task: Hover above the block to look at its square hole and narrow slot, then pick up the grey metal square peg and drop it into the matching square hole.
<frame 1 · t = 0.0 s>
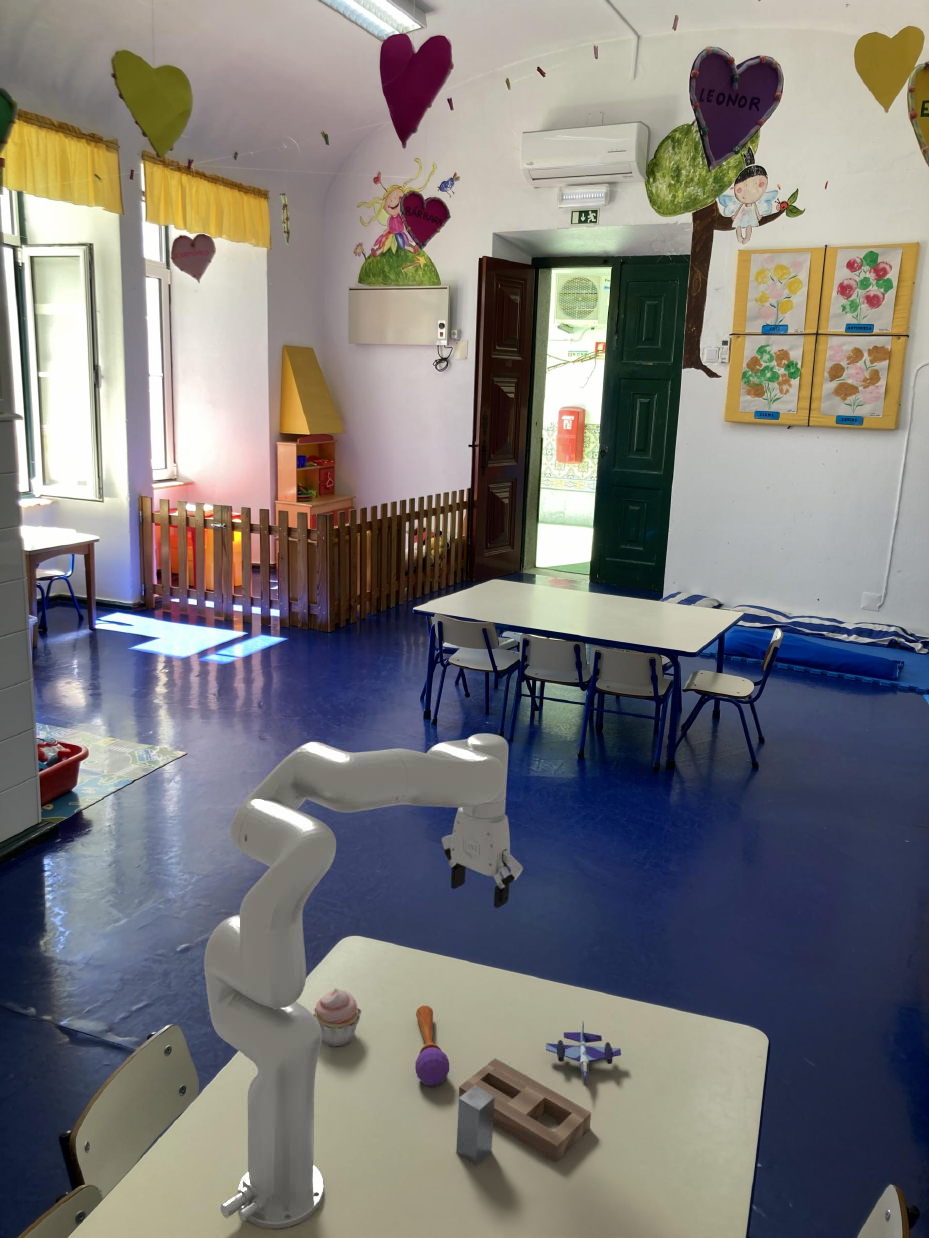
hand: (478, 895, 172), 31 cm above the table, tool pointing down, fingers open, 9 cm apart
toy airplane: (582, 1069, 175), on the table
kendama: (428, 1055, 177), on the table
cupcake: (336, 1037, 181), on the table
socket block: (523, 1114, 163), on the table
square peg: (473, 1151, 154), on the table
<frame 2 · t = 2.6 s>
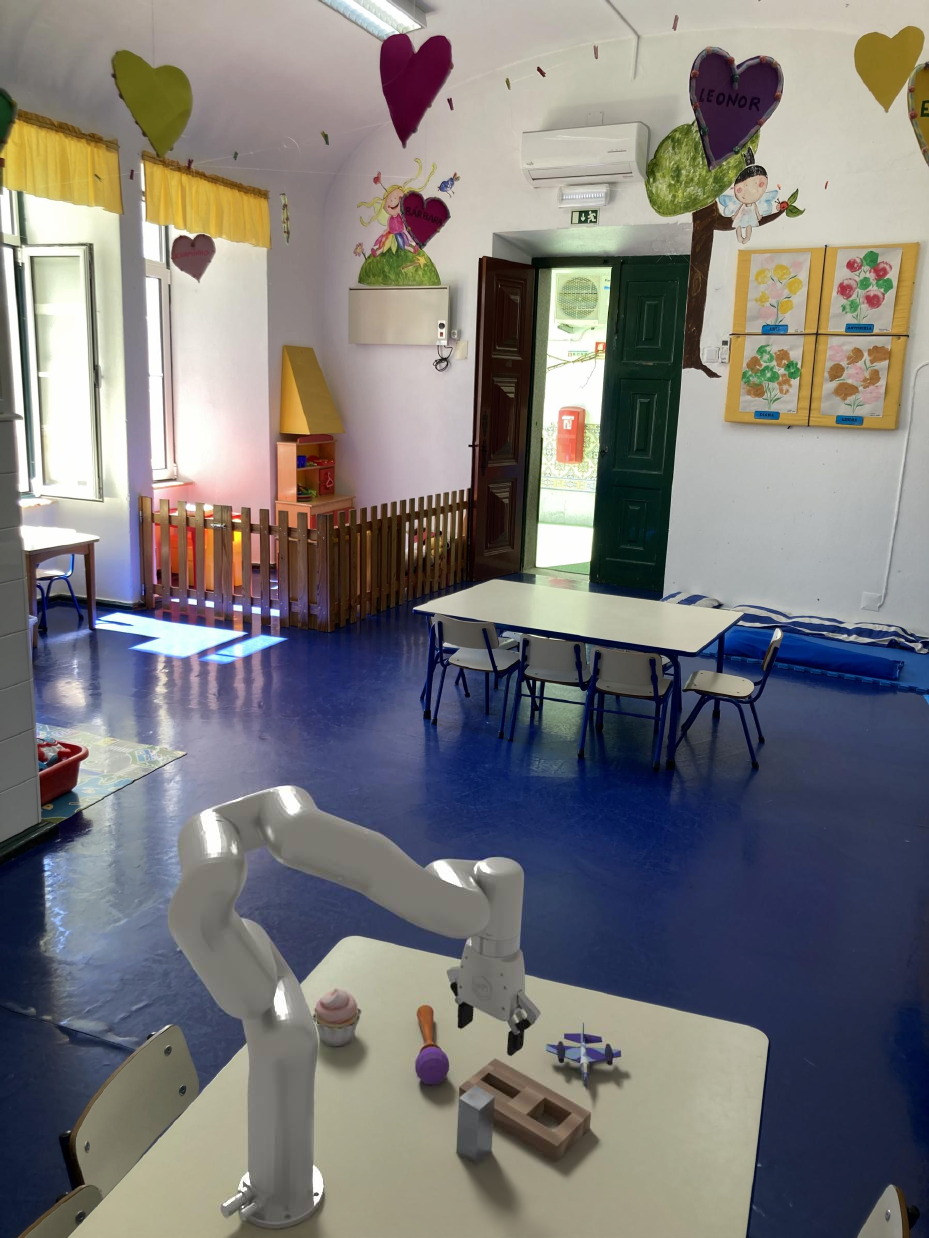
hand: (489, 1037, 151), 20 cm above the table, tool pointing down, fingers open, 9 cm apart
nothing on the table moved.
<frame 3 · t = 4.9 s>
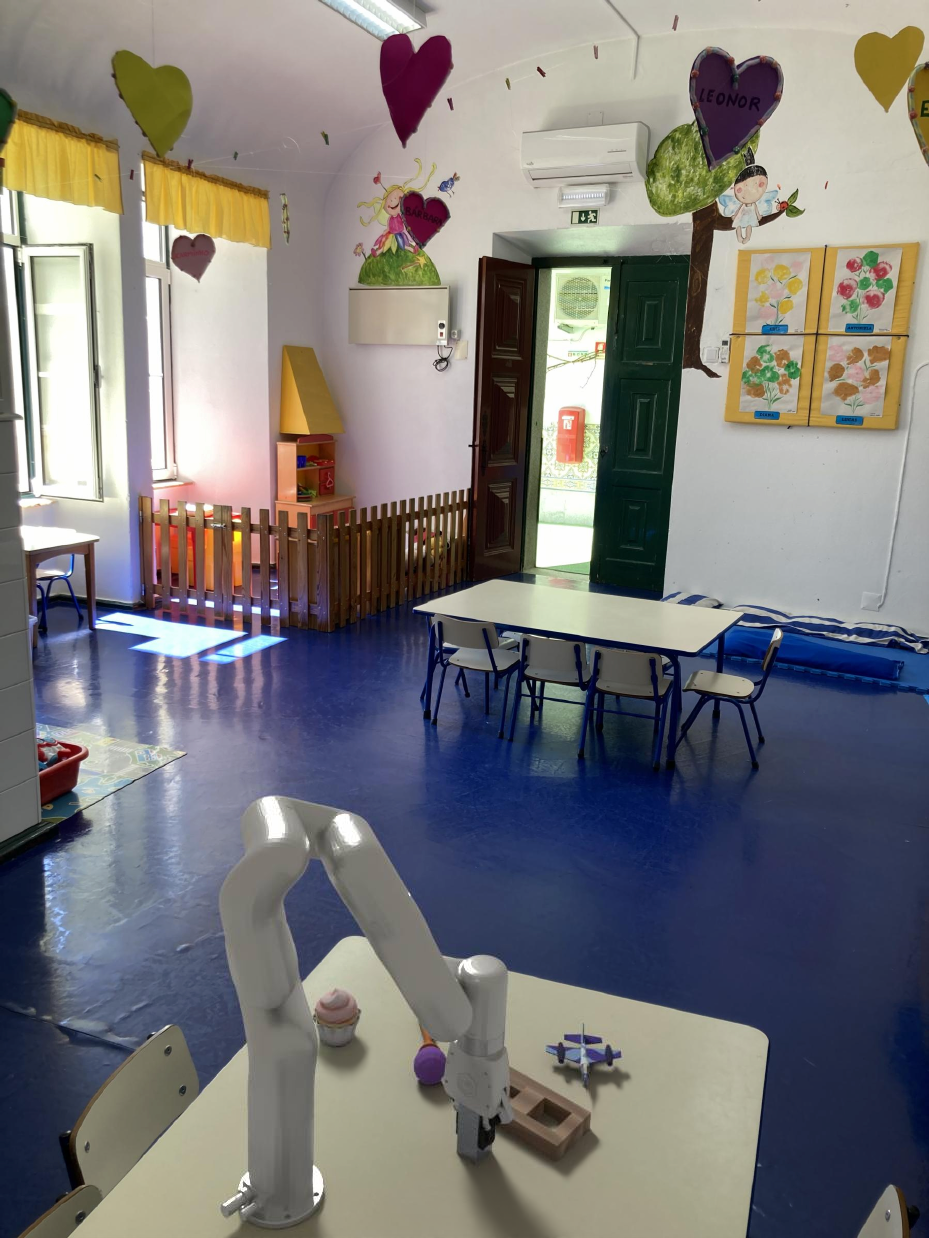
hand: (475, 1136, 154), 3 cm above the table, tool pointing down, fingers closed on square peg, 4 cm apart
square peg: (474, 1151, 154), on the table, touching gripper
everything else where it was.
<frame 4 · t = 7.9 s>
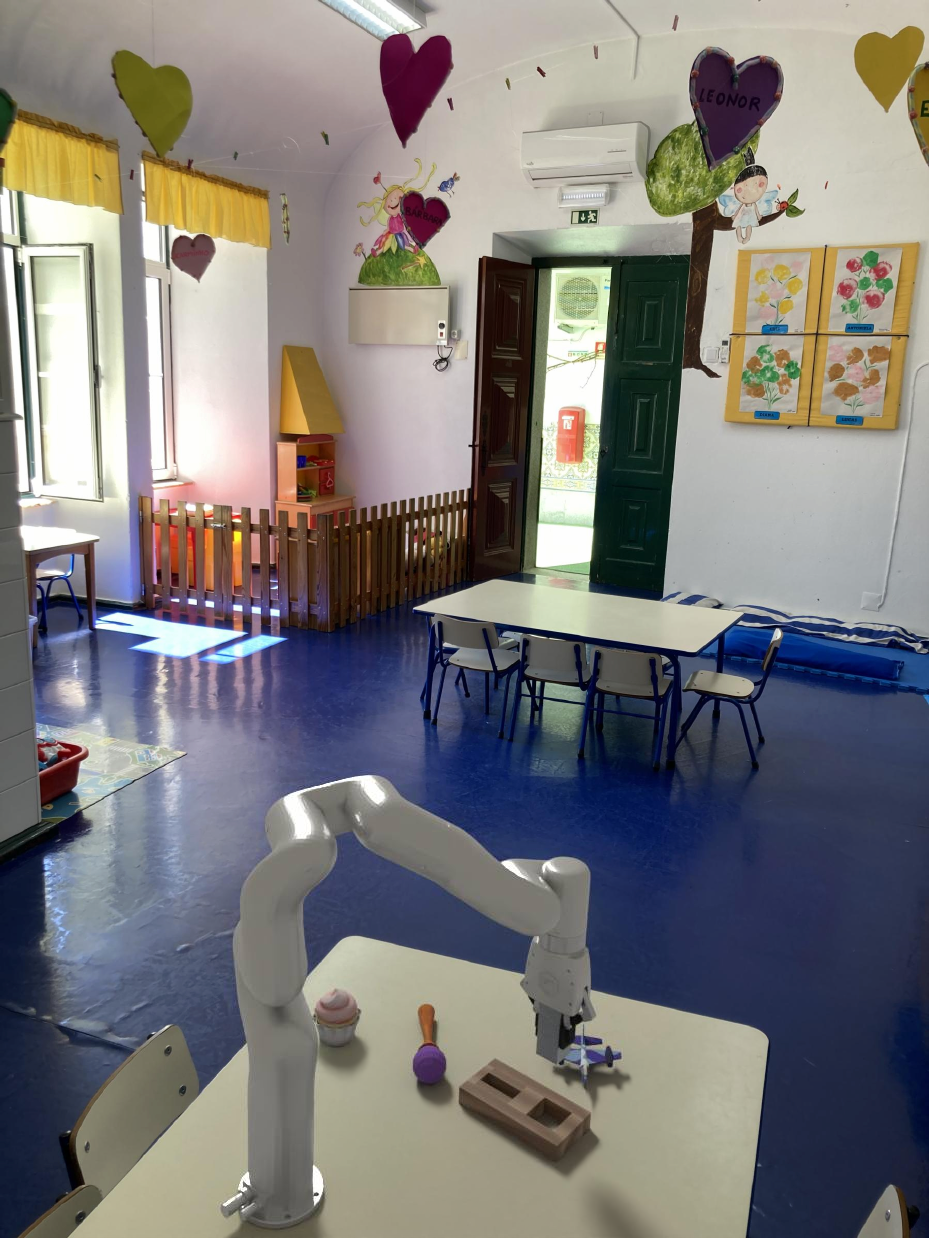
hand: (554, 1037, 156), 17 cm above the table, tool pointing down, fingers closed on square peg, 4 cm apart
square peg: (553, 1052, 157), point 14 cm above the table, touching gripper
everything else where it was.
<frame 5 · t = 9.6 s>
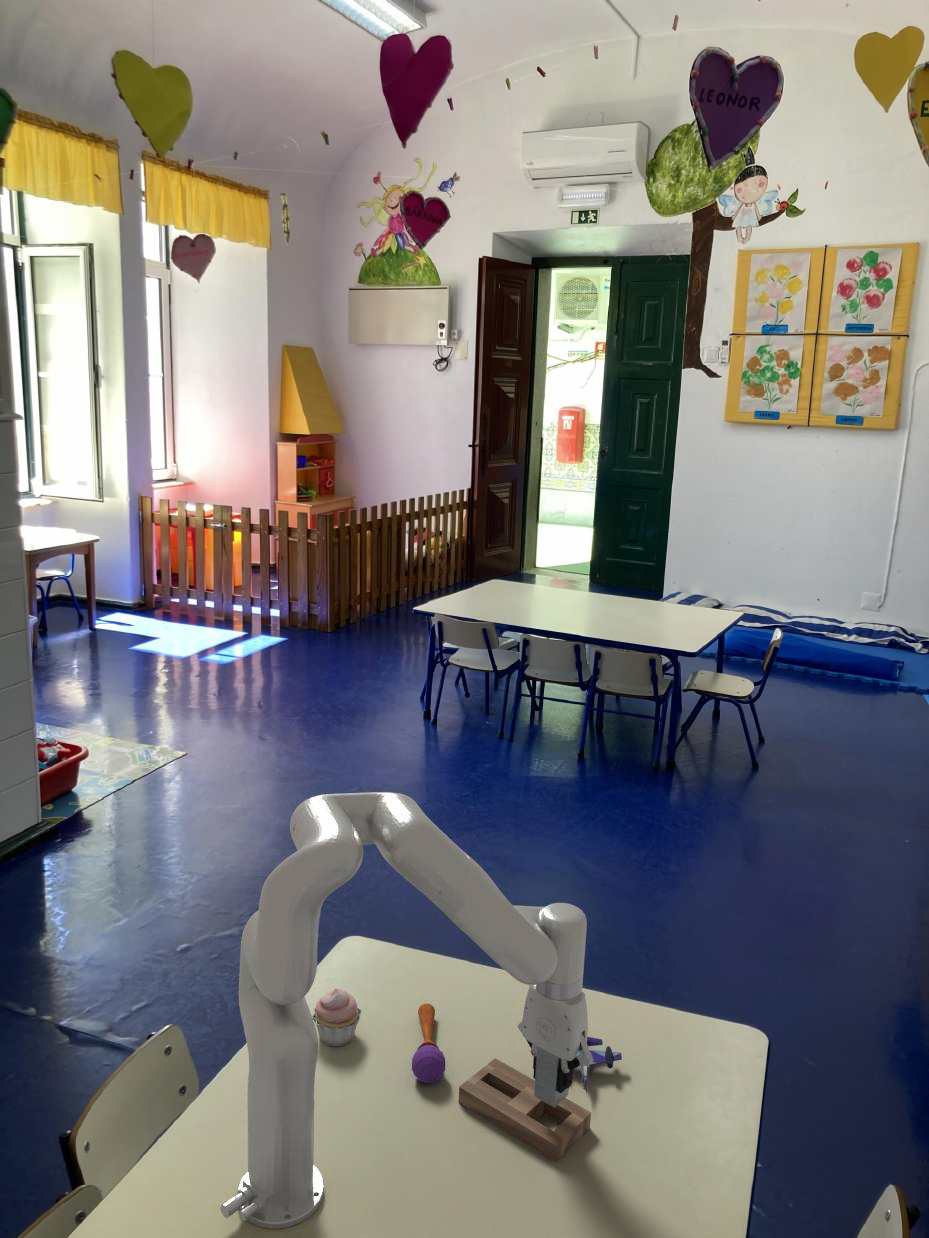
hand: (552, 1080, 158), 9 cm above the table, tool pointing down, fingers closed on square peg, 4 cm apart
square peg: (551, 1095, 158), point 6 cm above the table, touching gripper
when the fingers open (5 cm above the table, at t = 11.0 s): square peg drops 2 cm, resting in socket block.
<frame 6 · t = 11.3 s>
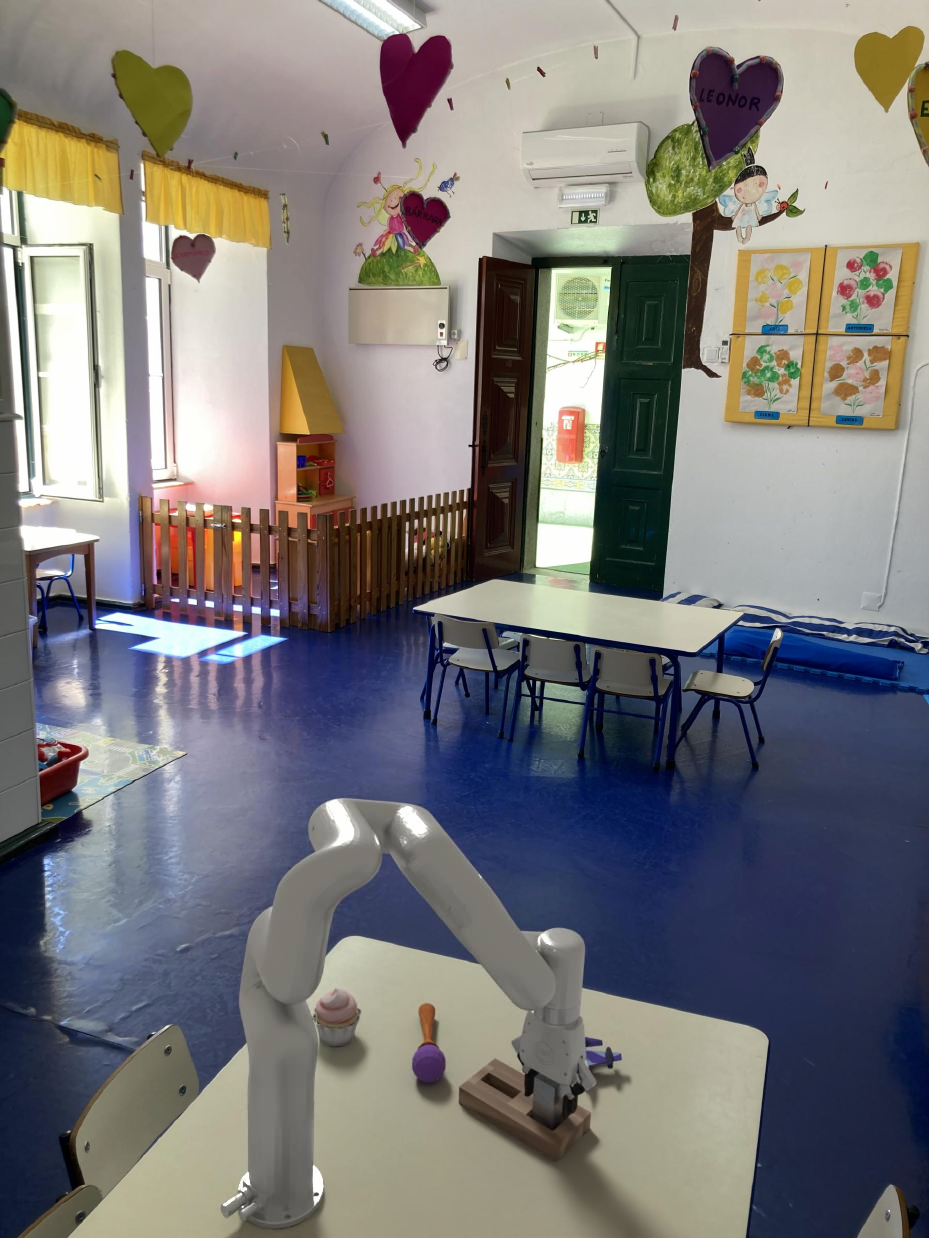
hand: (549, 1102, 159), 5 cm above the table, tool pointing down, fingers open, 6 cm apart
square peg: (547, 1129, 160), resting in socket block
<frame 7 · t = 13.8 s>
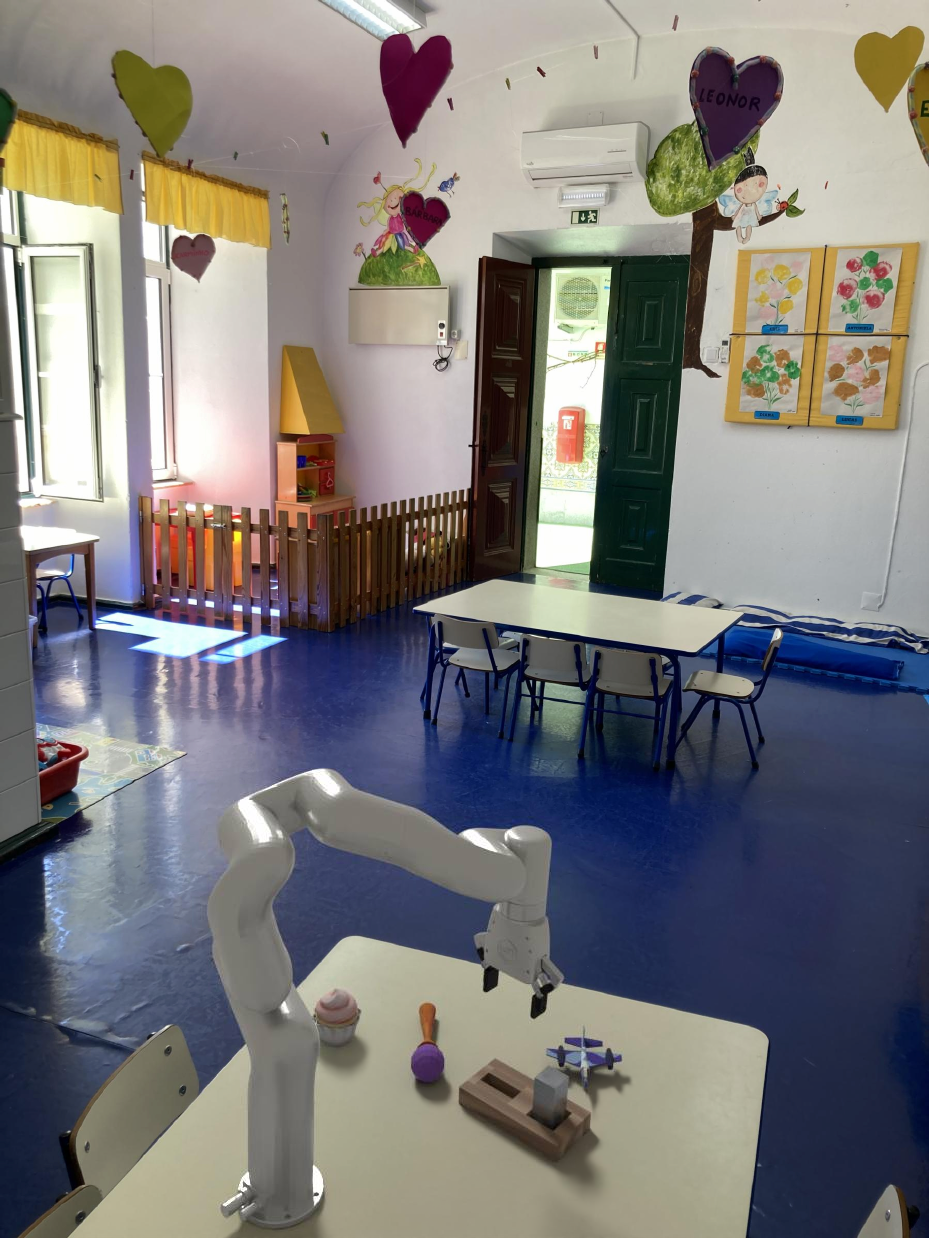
hand: (513, 1001, 156), 22 cm above the table, tool pointing down, fingers open, 9 cm apart
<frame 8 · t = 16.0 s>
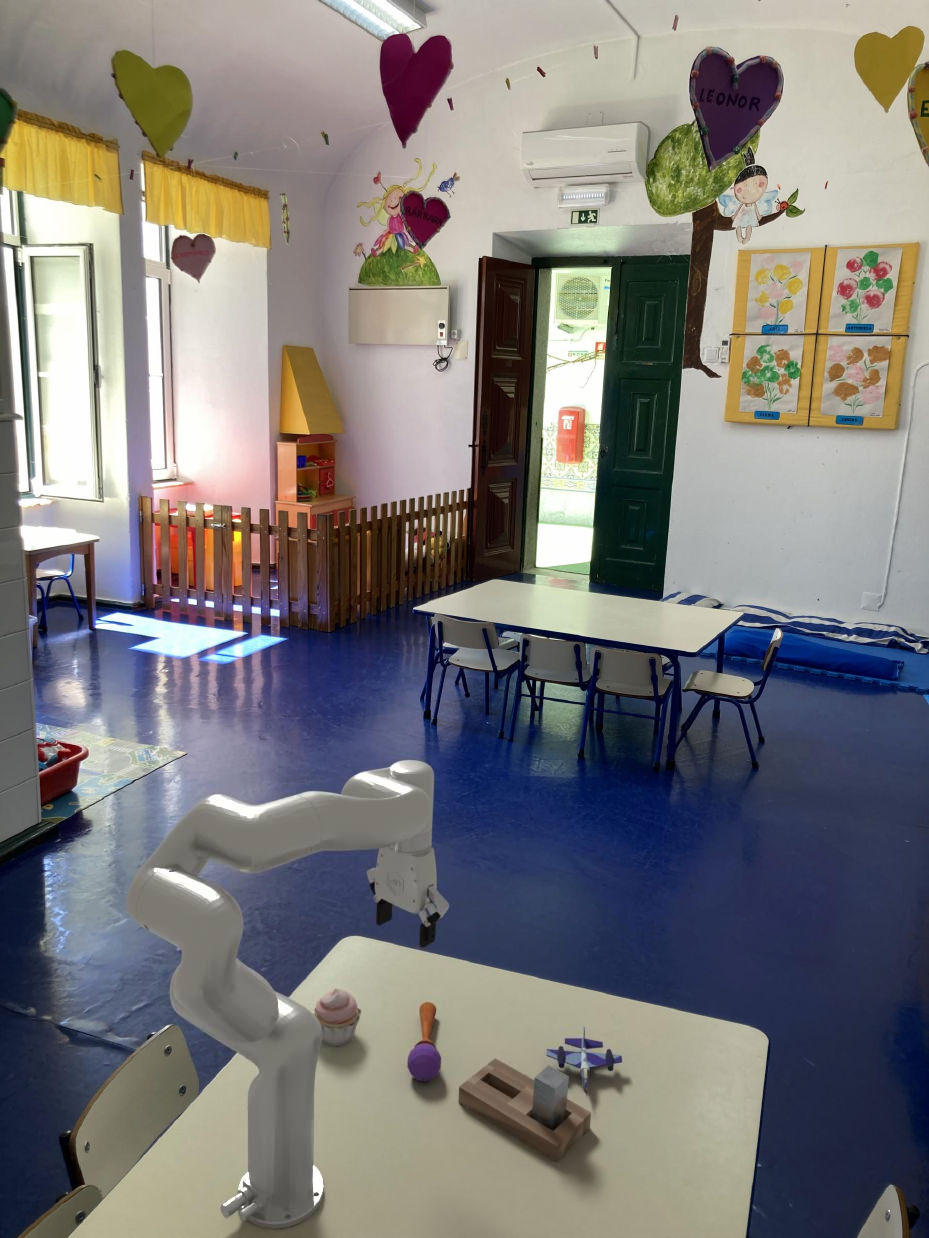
hand: (405, 932, 160), 30 cm above the table, tool pointing down, fingers open, 9 cm apart
at the end: square peg 0.0 cm from the target spot on the socket block, point 0.0 cm above the socket block's base; square peg tilted 0°; the gripper is holding nothing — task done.
